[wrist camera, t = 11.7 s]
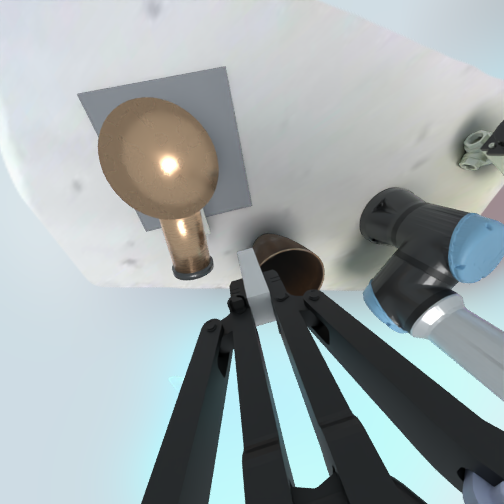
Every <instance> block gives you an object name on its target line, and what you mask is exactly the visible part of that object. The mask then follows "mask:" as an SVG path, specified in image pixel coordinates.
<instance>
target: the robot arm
mask: <svg viewBox="0 0 504 504" xmlns="http://www.w3.org/2000/svg"><path fill="white" fill-rule="evenodd" d="M360 230H361V233H362V235H363V236H364V237H365V238H366V239H368V240H369V241H371V242H373V243H376V244H382V245H388V246H395V247H397V248H398V250H397V251H396V252H395V253H394V254H393V255H392V257H391V258H390V259H389V260H388V261H387V263H386V264H385V265H384V266H383V267H382V268H381V270H380V271H379V272H378V273H377V274H376V275H375V277H374V278H373V279H371V280H370V283H369V284H368V286H367V287H366V289H365V290H364V292H363V298H364V301H365V303H366V305H367V306H368V307H369V309H370V310H371V311H372V312H373V313H374V315H375V316H376V317H378V318H379V320H381V321H382V322H383V323H386V325H387V326H388V327H390V328H391V329H392V330H394V331H396V332H398V333H409V334H411V335H412V336H413V337H416V338H424V339H428V340H430V341H431V342H432V343H433V344H435V345H436V346H437V347H438V348H439V349H441V350H442V351H443V352H444V353H445V354H447V355H448V356H449V357H450V358H452V359H453V360H454V361H456V363H458V364H459V365H460V366H461V367H462V368H464V369H465V370H466V371H467V372H469V373H470V374H471V375H472V376H474V377H475V378H476V379H477V380H478V381H479V382H481V383H482V384H483V385H484V386H486V387H487V388H488V389H489V390H491V391H492V392H493V393H494V394H495V395H496V396H498V397H499V398H500V399H502V400H503V401H504V332H503V331H502V330H500V329H499V328H497V327H495V326H494V325H492V324H491V323H489V322H487V321H486V320H484V319H482V318H481V317H479V316H477V315H476V314H474V313H472V312H471V311H469V310H468V309H466V307H465V306H464V301H463V297H462V296H461V295H459V294H457V293H456V292H454V291H452V290H451V289H452V288H453V287H454V286H455V285H456V284H457V283H458V282H462V283H475V282H477V281H480V279H481V278H485V277H486V276H487V275H489V273H491V272H492V271H493V270H494V269H495V268H496V267H497V265H498V264H499V262H500V261H501V259H502V258H503V256H504V225H503V224H502V223H500V222H499V221H496V220H493V219H490V218H486V217H483V216H481V215H479V214H477V213H468V212H464V211H460V210H456V209H451V208H447V207H443V206H439V205H435V204H430V203H426V202H425V201H423V200H422V199H421V198H419V197H418V196H416V195H415V194H414V193H412V192H411V191H409V190H406V189H401V188H390V189H387V190H384V191H382V192H381V193H379V194H378V195H376V196H375V197H374V198H373V199H372V200H371V201H370V202H369V203H368V205H367V206H366V208H365V210H364V211H363V214H362V216H361V220H360ZM237 254H238V259H239V263H240V268H241V273H242V277H243V279H239V280H236V281H232V282H231V284H230V294H231V297H230V298H229V300H228V302H227V304H228V307H229V310H230V314H229V315H228V316H227V317H226V318H224V319H222V320H221V321H220V320H218V319H211V320H209V321H207V322H206V323H205V324H204V325H203V327H202V329H201V332H200V335H199V337H198V340H197V343H196V346H195V349H194V352H193V355H192V358H191V361H190V364H189V366H188V369H187V372H186V375H185V378H184V381H183V384H182V387H181V390H180V393H179V396H178V399H177V401H176V404H175V407H174V410H173V413H172V416H171V419H170V422H169V424H168V427H167V430H166V433H165V436H164V439H163V442H162V445H161V448H160V451H159V454H158V456H157V459H156V462H155V465H154V468H153V471H152V474H151V477H150V480H149V482H148V485H147V488H146V491H145V494H144V497H143V500H142V503H141V504H208V502H209V495H210V489H211V483H212V477H213V471H214V465H215V459H216V452H217V446H218V440H219V434H220V427H221V421H222V415H223V409H224V403H225V396H226V390H227V384H228V377H229V371H230V365H231V359H232V352H233V349H234V351H235V361H236V372H237V381H238V392H239V402H240V412H241V422H242V433H243V443H244V451H243V455H242V466H243V467H242V468H243V480H244V492H245V504H427V503H426V502H425V501H423V500H422V499H421V498H420V497H418V496H417V495H416V494H415V493H414V492H412V491H411V490H410V489H409V488H408V487H406V486H405V485H404V484H403V483H401V482H400V481H398V480H397V479H395V478H394V477H392V476H390V475H389V473H388V471H387V469H386V467H385V466H384V464H383V462H382V460H381V458H380V456H379V454H378V453H377V451H376V449H375V447H374V445H373V443H372V441H371V439H370V438H369V436H368V434H367V432H366V430H365V429H364V427H363V425H362V423H361V422H360V421H359V419H358V418H357V417H356V416H355V415H354V414H353V413H352V412H351V410H350V408H349V406H348V404H347V402H346V400H345V398H344V397H343V395H342V393H341V391H340V389H339V387H338V385H337V383H336V381H335V379H334V377H333V375H332V374H331V372H330V370H329V368H328V366H327V364H326V362H325V360H324V358H323V356H322V355H321V352H320V351H319V349H318V347H317V345H316V343H315V341H314V339H313V337H312V335H311V333H310V331H309V330H308V328H309V329H310V330H311V332H312V333H313V334H314V335H315V336H316V337H317V338H318V339H319V340H320V342H321V343H322V344H323V345H324V346H325V347H326V348H327V349H328V351H329V352H330V353H331V354H332V355H333V356H334V357H335V358H336V359H337V361H338V362H339V363H340V364H341V365H342V366H343V367H344V368H345V370H346V371H347V372H348V373H349V374H350V375H351V376H352V377H353V378H354V379H355V381H356V382H357V383H358V384H359V385H360V386H361V387H362V389H363V390H364V391H365V392H366V393H367V394H368V395H369V396H370V397H371V399H372V400H373V401H374V402H375V403H376V404H377V405H378V406H379V408H380V409H381V410H382V411H383V412H384V413H385V414H386V415H387V416H388V418H389V419H390V420H391V421H392V422H393V423H394V424H395V425H396V426H397V427H398V429H399V430H400V431H401V432H402V433H403V434H404V435H405V437H406V438H407V439H408V440H409V441H410V442H411V443H412V444H413V446H414V447H415V448H416V449H417V450H418V451H419V452H420V453H421V454H422V455H423V456H424V457H425V459H426V460H427V461H428V462H429V463H430V464H431V465H432V466H433V467H434V468H435V469H436V470H437V471H438V472H439V473H440V474H441V475H442V476H444V477H445V478H446V479H447V480H448V481H449V482H450V483H451V484H452V485H453V486H454V487H456V488H457V489H458V490H459V491H460V492H462V493H463V499H464V502H465V504H504V431H502V430H501V429H499V428H497V427H495V426H493V425H491V424H490V423H488V422H486V421H484V420H483V419H481V418H480V417H479V416H478V415H476V414H475V413H474V412H472V411H471V410H470V409H469V408H467V407H466V406H465V405H464V404H463V403H461V402H460V401H458V400H457V399H456V398H455V397H454V396H452V395H451V394H450V393H449V392H447V391H446V390H445V389H443V388H442V387H441V386H440V385H439V384H437V383H436V382H435V381H434V380H432V379H431V378H430V377H428V376H427V375H426V374H425V373H423V372H422V371H421V370H420V369H418V368H417V367H416V366H415V365H413V364H412V363H411V362H410V361H408V360H407V359H406V358H404V357H403V356H402V355H401V354H400V353H398V352H397V351H396V350H394V349H393V348H392V347H391V346H389V345H388V344H387V343H385V342H384V341H383V340H382V339H381V338H379V337H378V336H377V335H376V334H374V333H373V332H372V331H371V330H369V329H368V328H367V327H365V326H364V325H363V324H362V323H360V322H359V321H358V320H357V319H355V318H354V317H353V316H351V315H350V314H349V313H348V312H346V311H345V310H344V309H343V308H342V307H340V306H339V305H338V304H336V303H335V302H334V301H333V300H331V299H330V298H329V297H328V296H326V295H325V294H324V293H323V292H321V291H319V290H316V289H312V290H308V291H306V292H305V293H304V295H303V296H293V295H291V294H289V293H288V292H287V291H286V289H285V287H284V285H283V283H282V281H281V279H280V277H279V275H278V273H277V272H276V271H274V270H273V269H272V270H269V271H265V272H262V271H261V269H260V266H259V263H258V261H257V258H256V256H255V253H254V250H253V248H249V249H246V250H242V251H238V252H237ZM273 321H277V325H278V329H279V333H280V334H281V337H282V340H283V342H284V345H285V348H286V351H287V354H288V356H289V359H290V362H291V365H292V368H293V371H294V374H295V376H296V379H297V382H298V385H299V388H300V390H301V393H302V396H303V399H304V402H305V405H306V407H307V410H308V413H309V416H310V418H311V422H312V424H313V427H314V430H315V433H316V436H317V439H318V441H319V444H320V447H321V450H322V453H323V457H324V460H325V463H326V466H327V470H328V472H329V475H330V477H329V478H328V479H327V480H325V481H324V482H323V483H322V484H321V485H320V486H319V487H317V488H315V489H314V488H313V489H312V488H300V487H295V484H294V480H293V476H292V473H291V469H290V465H289V461H288V457H287V453H286V449H285V445H284V440H283V436H282V432H281V428H280V424H279V420H278V415H277V411H276V407H275V403H274V398H273V394H272V390H271V386H270V382H269V377H268V373H267V369H266V365H265V361H264V356H263V352H262V348H261V344H260V339H259V335H258V331H257V329H256V326H259V325H263V324H266V323H269V322H273Z"/></svg>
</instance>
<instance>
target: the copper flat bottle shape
mask: <svg viewBox="0 0 504 504" xmlns="http://www.w3.org/2000/svg"><path fill="white" fill-rule="evenodd" d="M98 154H99V160H100V164H101V167H102V170H103V173H104V175H105V177H106V179H107V181H108V182H109V184H110V186H111V187H112V188H113V190H114V191H115V192H116V194H117V195H118V196H119V197H120V198H121V199H122V200H123V201H124V202H126V203H127V204H128V205H129V206H131V207H132V208H134V209H135V210H137V211H139V212H141V213H143V214H145V215H148V216H150V217H154V218H158V219H159V220H160V224H161V227H162V230H163V233H164V236H165V239H166V243H167V246H168V249H169V252H170V255H171V259H172V262H173V266H172V270H173V274H174V276H175V277H176V278H177V279H180V280H194V279H198V278H201V277H203V276H205V275H207V274H208V273H210V272H211V271H212V269H213V267H214V264H213V259H212V257H211V256H210V255H209V251H208V246H207V241H206V236H205V231H204V226H203V221H202V216H201V211H200V210H201V209H202V208H203V207H204V206H205V205H206V204H207V203H208V202H209V201H210V199H211V197H212V196H213V194H214V192H215V189H216V186H217V182H218V176H219V165H218V158H217V153H216V150H215V147H214V145H213V143H212V140H211V138H210V137H209V135H208V133H207V132H206V130H205V129H204V128H203V126H202V125H201V124H200V123H199V122H198V120H197V119H196V118H195V117H194V116H192V115H191V114H190V113H189V112H188V111H186V110H185V109H183V108H181V107H180V106H178V105H176V104H174V103H172V102H169V101H166V100H163V99H159V98H153V97H142V98H135V99H131V100H128V101H126V102H124V103H122V104H120V105H119V106H117V107H116V108H115V109H113V110H112V112H111V113H110V114H109V115H108V116H107V118H106V119H105V121H104V123H103V125H102V127H101V130H100V134H99V139H98Z"/></svg>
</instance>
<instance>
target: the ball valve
mask: <svg viewBox="0 0 504 504" xmlns="http://www.w3.org/2000/svg"><path fill="white" fill-rule="evenodd" d="M464 144H465V145H464V149H465V150H466V151H467V152H466V154H465V155H464V156H463V157H462V161H461V162H460V163H459V165H460V167H462V168H464V169H467V170H477V169H479V168H480V167H481V166H482V165H488V164H492V163H493V164H494V165H495V166H496V168H497V169H498V170H499V171H500V172H501V173H502V174H503V175H504V120H503V122H501V123H500V125H499V126H498V127H497V128H496V130H495V131H494V132H493V134H492V133H491V132H489V131H483V130H480V131H477V132H475V133H473V134H471V135H469V136H468V138H467V139H466V140H465V142H464Z"/></svg>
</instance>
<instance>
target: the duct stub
mask: <svg viewBox="0 0 504 504" xmlns="http://www.w3.org/2000/svg"><path fill="white" fill-rule="evenodd" d="M77 95H78V97H79V99H80V101H81V103H82V105H83V107H84V109H85V111H86V113H87V115H88V117H89V119H90V121H91V123H92V125H93V127H94V129H95V131H96V133H97V135H98V137H99V134H100V130H101V127H102V125H103V123H104V121H105V119H106V118H107V116H108V115H109V114H110V113H111V112H112V110H113V109H115V108H116V107H117V106H119V105H120V104H122V103H124V102H126V101H128V100H131V99H135V98H142V97H153V98H159V99H163V100H166V101H169V102H172V103H174V104H176V105H178V106H180V107H181V108H183V109H185V110H186V111H188V112H189V113H190V114H191V115H192V116H194V117H195V118H196V119H197V120H198V122H199V123H200V124H201V125H202V126H203V128H204V129H205V130H206V132H207V133H208V135H209V137H210V138H211V140H212V143H213V145H214V147H215V150H216V153H217V158H218V165H219V176H218V182H217V186H216V189H215V192H214V194H213V196H212V197H211V199H210V201H209V202H208V203H207V204H206V205H205V206H204V207H203V208H202V209H201V210H200V211H201V216H202V221H203V226H204V231H205V235H207V234H211V232H210V229H209V226H208V223H207V220H206V217H208V216H212V215H216V214H220V213H224V212H228V211H232V210H236V209H241V208H245V207H249V206H252V202H251V197H250V192H249V187H248V181H247V176H246V171H245V166H244V160H243V155H242V150H241V145H240V140H239V134H238V129H237V124H236V119H235V113H234V108H233V103H232V98H231V92H230V87H229V82H228V77H227V72H226V66H225V67H219V68H214V69H209V70H203V71H198V72H192V73H187V74H182V75H176V76H171V77H166V78H160V79H155V80H149V81H144V82H139V83H133V84H128V85H122V86H117V87H112V88H106V89H101V90H96V91H90V92H85V93H79V94H77ZM136 212H137V214H138V216H139V218H140V220H141V222H142V224H143V226H144V228H145V230H146V232H147V231H151V230H155V229H159V228H162V227H161V224H160V220H159V219H158V218H154V217H150V216H148V215H145V214H143V213H141V212H139V211H137V210H136Z"/></svg>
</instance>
